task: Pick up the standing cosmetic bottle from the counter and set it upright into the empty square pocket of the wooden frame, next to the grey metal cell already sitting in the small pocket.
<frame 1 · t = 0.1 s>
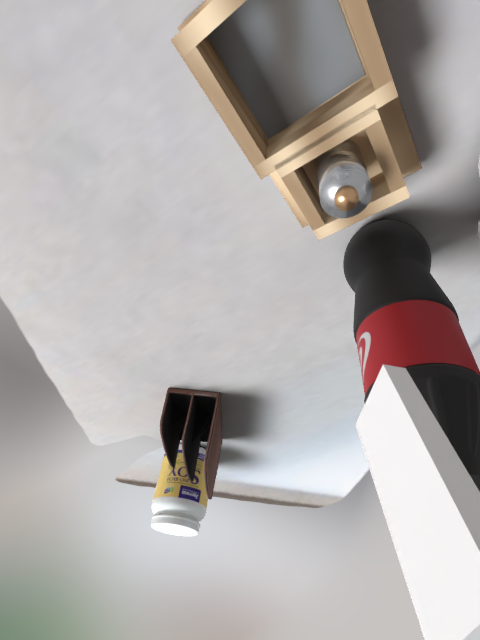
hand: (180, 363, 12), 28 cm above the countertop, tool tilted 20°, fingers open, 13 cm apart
grey cell: (338, 161, 33), point 1 cm above the countertop, touching wooden frame
supplement tub: (190, 452, 88), on the countertop
cola bottle: (380, 244, 40), on the countertop
letter holder: (198, 413, 74), on the countertop
wooden frame: (310, 100, 30), on the countertop
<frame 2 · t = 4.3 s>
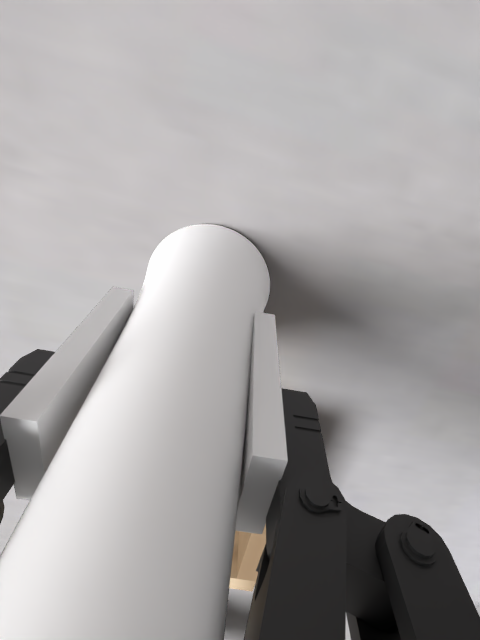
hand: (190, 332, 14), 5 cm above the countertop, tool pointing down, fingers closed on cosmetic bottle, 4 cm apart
cosmetic bottle: (209, 282, 18), on the countertop, touching gripper
wooden frame: (179, 488, 26), on the countertop
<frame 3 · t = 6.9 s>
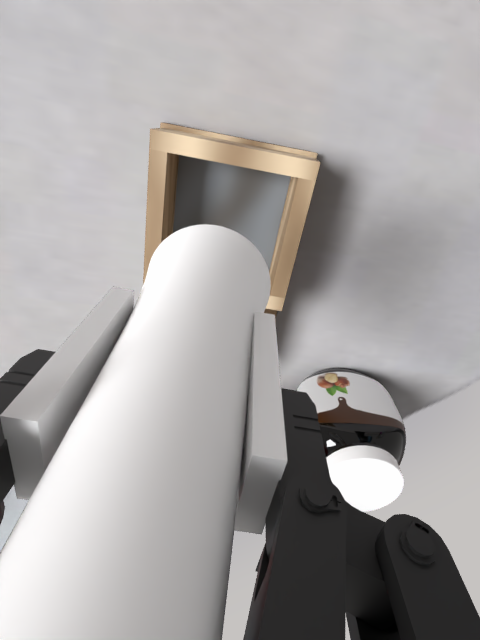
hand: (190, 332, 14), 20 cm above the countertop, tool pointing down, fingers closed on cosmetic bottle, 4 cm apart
cosmetic bottle: (209, 282, 18), point 15 cm above the countertop, touching gripper
wooden frame: (221, 258, 33), on the countertop
spread jar: (323, 404, 41), on the countertop
when the fingers open (7 cm above the countertop, at t = 9.3 s): cosmetic bottle stays where it is, resting on wooden frame.
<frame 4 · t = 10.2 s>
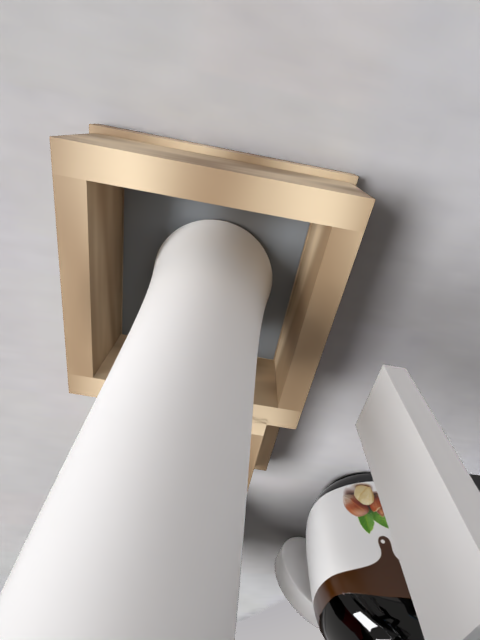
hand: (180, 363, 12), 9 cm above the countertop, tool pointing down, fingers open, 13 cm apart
cosmetic bottle: (213, 276, 19), point 1 cm above the countertop, touching wooden frame
wooden frame: (201, 331, 21), on the countertop
spread jar: (348, 512, 30), on the countertop
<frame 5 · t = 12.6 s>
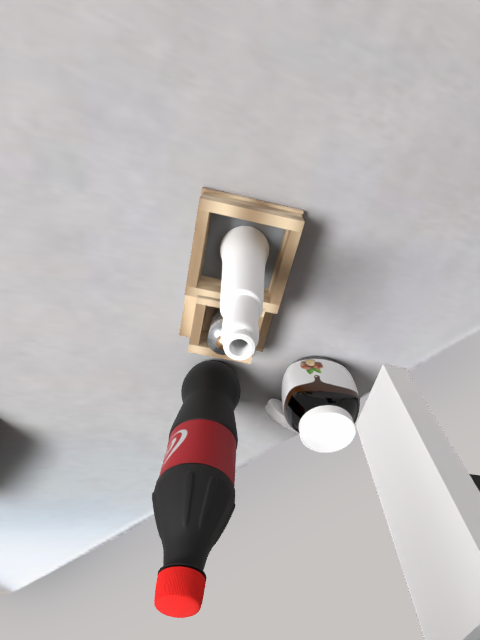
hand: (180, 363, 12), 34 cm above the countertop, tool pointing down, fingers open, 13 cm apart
grey cell: (227, 316, 49), point 1 cm above the countertop, touching wooden frame
cola bottle: (213, 376, 55), on the countertop
cosmetic bottle: (244, 249, 44), point 1 cm above the countertop, touching wooden frame
wooden frame: (236, 276, 47), on the countertop
spread jar: (305, 383, 55), on the countertop
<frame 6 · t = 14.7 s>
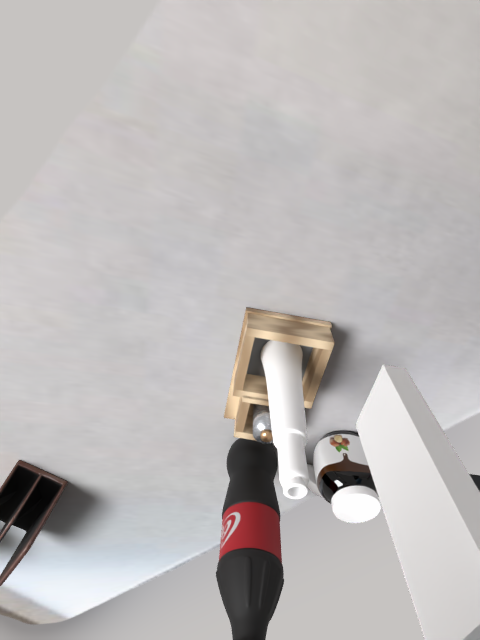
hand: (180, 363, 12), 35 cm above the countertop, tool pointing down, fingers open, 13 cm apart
grey cell: (265, 402, 57), point 1 cm above the countertop, touching wooden frame
cola bottle: (252, 447, 63), on the countertop
cosmetic bottle: (281, 353, 52), point 1 cm above the countertop, touching wooden frame
letter holder: (27, 494, 73), on the countertop
wooden frame: (273, 371, 55), on the countertop
spread jar: (332, 451, 63), on the countertop
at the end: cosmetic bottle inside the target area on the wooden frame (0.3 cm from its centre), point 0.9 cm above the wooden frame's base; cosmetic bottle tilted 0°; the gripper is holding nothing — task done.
